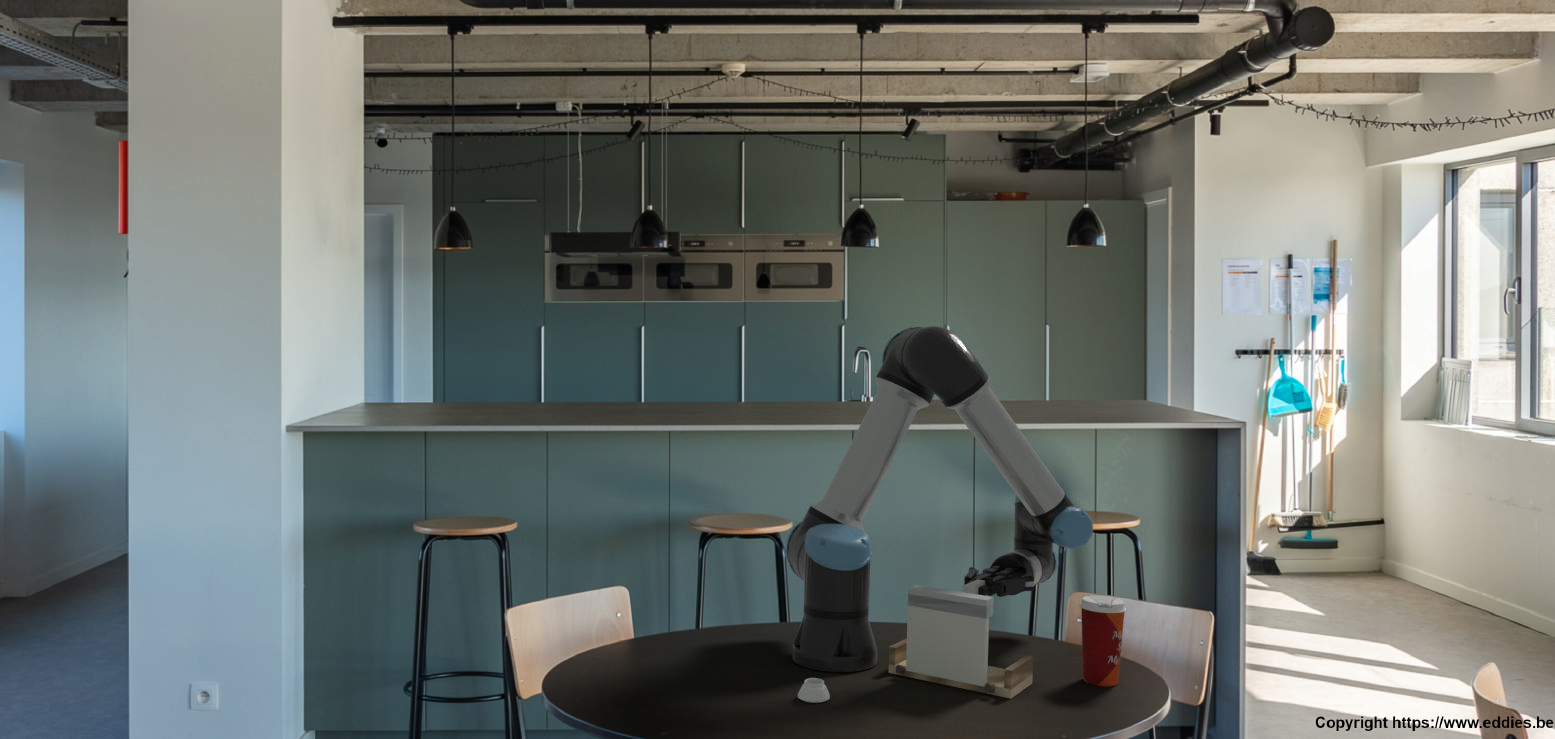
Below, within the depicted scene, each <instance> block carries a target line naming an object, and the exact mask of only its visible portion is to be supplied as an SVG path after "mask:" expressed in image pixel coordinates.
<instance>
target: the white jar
mask: <svg viewBox="0 0 1555 739" xmlns="http://www.w3.org/2000/svg"><path fill="white" fill-rule="evenodd" d="M803 681H804V683H803V684H802V685H801V687H800V689H799V691H798V693H797V698H798V699H800V700H801V701H803V702H806V703H809V704H811V703H812V704H819V703H825V702H826V701H829V700H830V698H831V694H830V692H829V690H828V687H827V686H826V685H825V681H824V680H823V678H822V679H821V678H816V677H810V678H806V679H805V680H803Z"/></svg>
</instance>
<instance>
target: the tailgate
mask: <svg viewBox="0 0 1555 739" xmlns="http://www.w3.org/2000/svg"><path fill="white" fill-rule="evenodd" d="M907 588H908V589H907V590H908V591H907V622H906V623H907V624H906V639H907V650H906V671H911V672H916V673H920V674H925V675H930V676H935V677H940V678H944V679H949V680H954V681H959V682H964V683H968V684H973V685H978V686H983V687H985V685H986V683H987V670H988V666H989V665H988V664H989V662H988V661H989V657H988V656H989V634H990V633H989V631H990V630H989V628H990V618H991V617H993V616H994V605H995V604H994V598H995V597H994V596H988V595H986V596H984V595H977V594H971V593H965V592H963V591H958V590H952V589H951V590H950V589H944V588H939V587H932V586H927V585H925V586H924V585H919V584H914V585H913V586H910V587H907Z"/></svg>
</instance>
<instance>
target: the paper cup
mask: <svg viewBox="0 0 1555 739" xmlns="http://www.w3.org/2000/svg"><path fill="white" fill-rule="evenodd" d="M1078 606H1079V607H1080V608H1081V612H1080V613H1081V614H1080V615H1081V637H1082V638H1081V642H1082V644H1081V647H1082V648H1081V649H1082V671H1083V672H1082V673H1083V681H1084V682H1085V683H1087V684H1089V685H1092V686H1098V687H1107V688H1108V687H1114V686H1117V685H1118V682H1119V676H1120V675H1119V673H1120V666H1121V665H1120V663H1121V654H1122V652H1121V651H1122V643H1123V633H1124V622H1125V621H1124V620H1125V612H1126V611H1127V610H1128V609H1127V608H1126V606H1125V602H1124V600H1122V599H1120V598H1117V597H1113V596H1108V595H1107V596H1106V595H1086V596H1083V597H1082V599H1081V602H1080V603H1079V605H1078Z"/></svg>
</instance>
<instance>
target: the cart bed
mask: <svg viewBox="0 0 1555 739" xmlns="http://www.w3.org/2000/svg"><path fill="white" fill-rule="evenodd" d="M888 648H889V649H888V650H889V651H888V654H889V655H888V674H893V675H899V676H902V677H908V678H911V679H912V678H913V679H916V680H921V681H927V682H931V683H935V684H940V685H945V686H949V687H955V688H959V689H965V690H968V691H974V692H978V693H983V694H986V695H987V694H988V695H992V696H997V697H1000V698H1006V699H1010V700H1011V699H1012V698H1014V697H1015V696H1017V695H1018V694H1020V693H1021V692H1023V690H1025V689H1026V688H1028V687H1029V686H1031V685H1032V684H1033V679H1034V678H1033V675H1034V672H1033V669H1034V656H1031V655H1024V656H1023V657H1021V658H1020V659H1019V660H1017V661H1016V662H1014V663H1012V664H1010V665H1009V666H1007V667H1006V668H1001V667H996V666H992V665H988V670H987V683H986V685H985V687H983V686H978V685H973V684H968V683H964V682H959V681H954V680H949V679H944V678H940V677H935V676H930V675H925V674H920V673H916V672H911V671H906V650H907V638H905V639H902V640H900V641H898V642H897V643H894V644H892V645H890V646H889V647H888Z"/></svg>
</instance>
